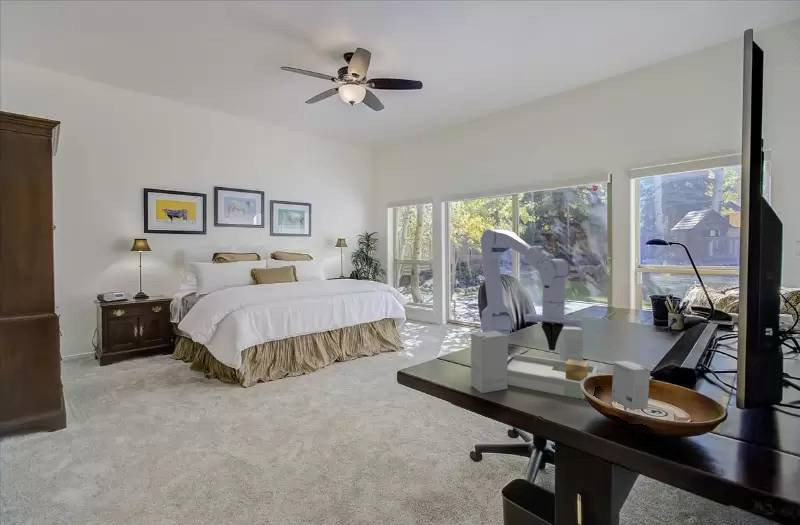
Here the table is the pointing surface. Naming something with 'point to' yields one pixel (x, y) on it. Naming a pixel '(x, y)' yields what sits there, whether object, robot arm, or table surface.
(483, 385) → the skincare box
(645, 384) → the skincare box
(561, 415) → the table surface
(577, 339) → the skincare box
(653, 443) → the table surface
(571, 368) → the ochre block
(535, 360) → the trap box
